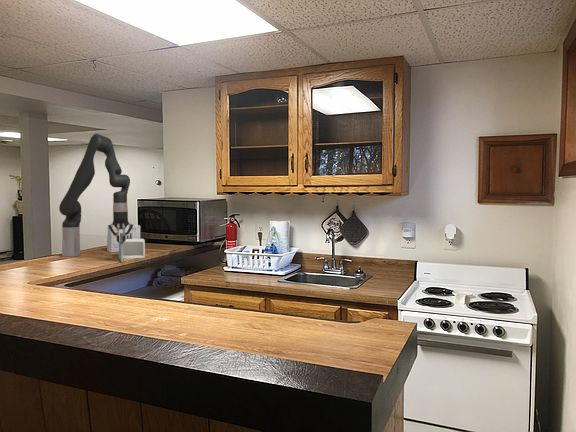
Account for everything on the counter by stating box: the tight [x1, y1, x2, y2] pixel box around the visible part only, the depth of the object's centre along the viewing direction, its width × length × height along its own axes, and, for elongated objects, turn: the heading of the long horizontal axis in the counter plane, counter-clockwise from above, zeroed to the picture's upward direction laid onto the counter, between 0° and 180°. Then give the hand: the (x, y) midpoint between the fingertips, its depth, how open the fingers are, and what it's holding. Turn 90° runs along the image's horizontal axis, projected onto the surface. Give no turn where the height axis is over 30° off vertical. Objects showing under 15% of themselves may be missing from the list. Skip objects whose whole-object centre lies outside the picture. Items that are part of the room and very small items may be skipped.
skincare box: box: [106, 224, 141, 253], centre depth 286 cm, size 21×6×16 cm, turn 143°
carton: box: [119, 238, 146, 259], centre depth 263 cm, size 14×10×10 cm
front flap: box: [118, 233, 124, 263], centre depth 248 cm, size 14×1×16 cm, turn 27°
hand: (121, 242), depth 244 cm, fingers closed
